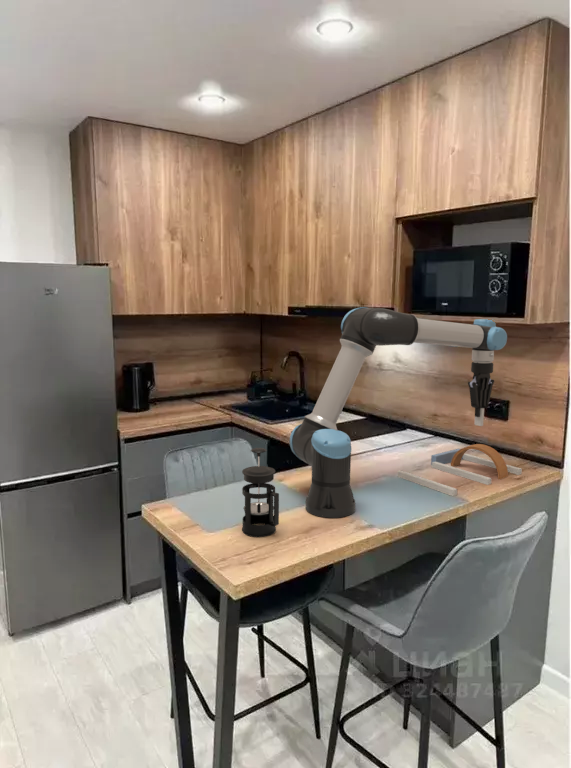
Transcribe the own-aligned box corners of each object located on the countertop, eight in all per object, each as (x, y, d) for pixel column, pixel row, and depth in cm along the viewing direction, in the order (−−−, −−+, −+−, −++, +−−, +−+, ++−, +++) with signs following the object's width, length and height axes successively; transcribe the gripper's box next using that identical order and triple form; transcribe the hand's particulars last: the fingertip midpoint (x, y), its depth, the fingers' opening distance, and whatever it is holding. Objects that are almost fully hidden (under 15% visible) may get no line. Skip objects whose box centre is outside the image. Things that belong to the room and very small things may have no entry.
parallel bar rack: (453, 496, 172) (453, 484, 171) (393, 475, 192) (393, 464, 192) (521, 473, 195) (522, 463, 194) (461, 457, 216) (462, 447, 215)
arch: (458, 464, 207) (459, 439, 205) (507, 476, 192) (509, 450, 190) (450, 466, 203) (451, 441, 202) (500, 480, 188) (501, 452, 187)
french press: (232, 530, 145) (232, 449, 142) (255, 519, 152) (255, 442, 149) (265, 542, 138) (265, 457, 134) (287, 530, 145) (288, 449, 142)
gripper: (480, 364, 185) (477, 429, 189) (502, 361, 193) (498, 424, 196) (462, 362, 191) (459, 425, 195) (484, 359, 199) (480, 421, 202)
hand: (478, 425), depth 196 cm, fingers closed
